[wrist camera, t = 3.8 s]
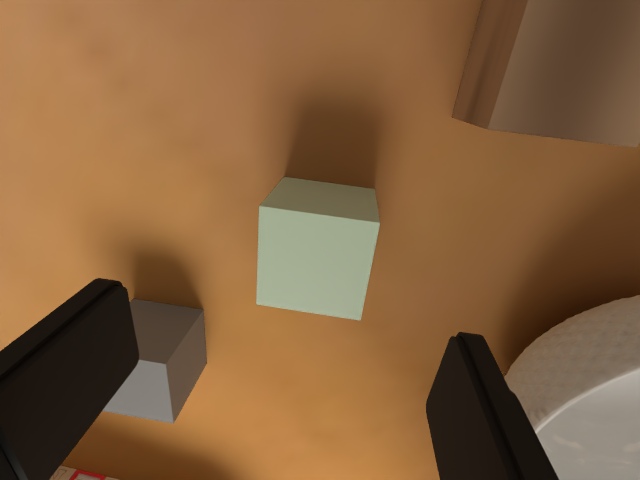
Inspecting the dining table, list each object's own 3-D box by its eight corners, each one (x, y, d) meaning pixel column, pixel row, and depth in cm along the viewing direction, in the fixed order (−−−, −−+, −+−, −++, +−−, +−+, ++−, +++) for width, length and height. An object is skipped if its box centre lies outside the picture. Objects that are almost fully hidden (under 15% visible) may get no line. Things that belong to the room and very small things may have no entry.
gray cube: (204, 308, 23) (165, 364, 18) (207, 362, 25) (173, 423, 20) (134, 297, 23) (79, 349, 18) (143, 351, 25) (96, 410, 21)
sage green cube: (374, 188, 18) (380, 222, 13) (360, 267, 20) (360, 320, 15) (284, 176, 18) (259, 206, 14) (279, 255, 20) (256, 304, 16)
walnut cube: (607, 3, 14) (732, -38, 9) (556, 130, 16) (636, 148, 11) (484, -10, 14) (546, -56, 9) (451, 117, 16) (487, 129, 11)
